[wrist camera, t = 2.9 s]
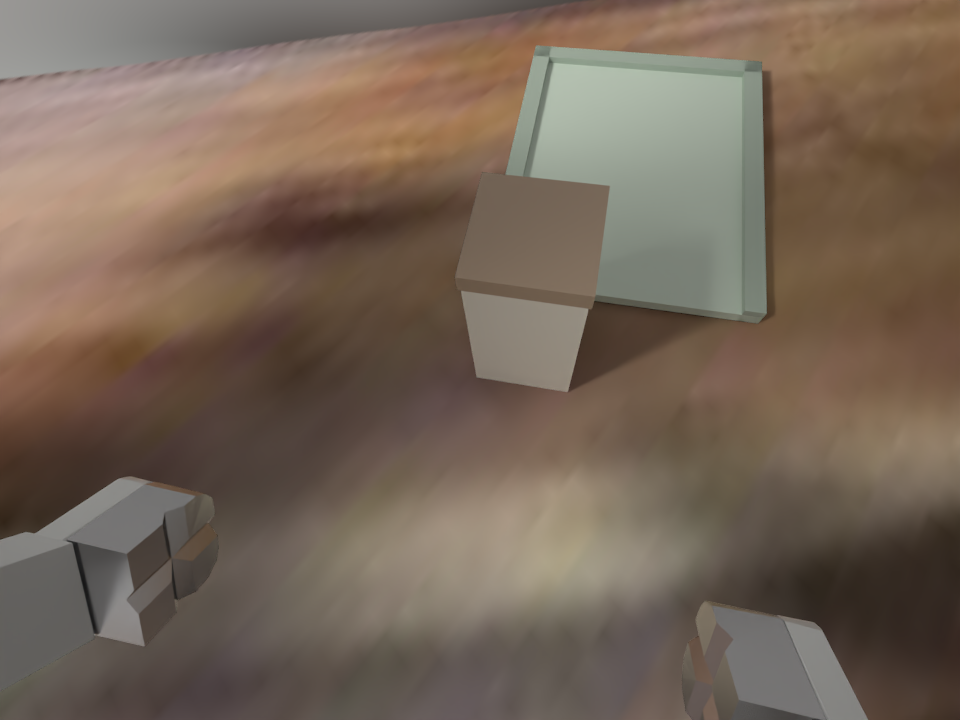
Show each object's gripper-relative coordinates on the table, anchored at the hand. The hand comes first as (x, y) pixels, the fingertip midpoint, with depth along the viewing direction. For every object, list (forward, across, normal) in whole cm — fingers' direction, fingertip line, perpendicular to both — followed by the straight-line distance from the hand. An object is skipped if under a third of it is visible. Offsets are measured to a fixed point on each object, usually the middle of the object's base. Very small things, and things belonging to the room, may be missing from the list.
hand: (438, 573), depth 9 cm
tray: (+27, -4, -6) cm, 28 cm away
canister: (+18, 0, +2) cm, 19 cm away
